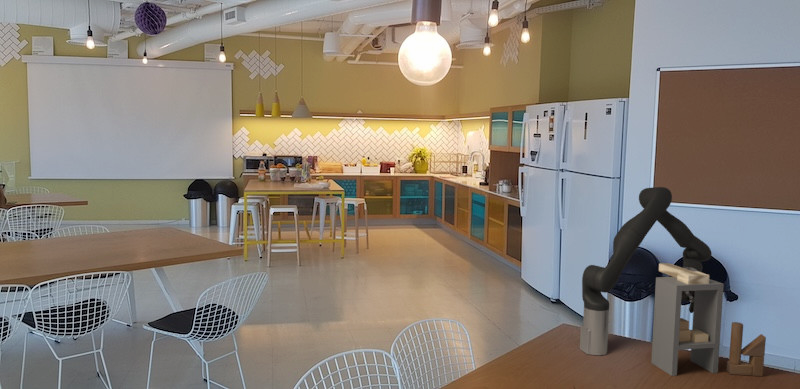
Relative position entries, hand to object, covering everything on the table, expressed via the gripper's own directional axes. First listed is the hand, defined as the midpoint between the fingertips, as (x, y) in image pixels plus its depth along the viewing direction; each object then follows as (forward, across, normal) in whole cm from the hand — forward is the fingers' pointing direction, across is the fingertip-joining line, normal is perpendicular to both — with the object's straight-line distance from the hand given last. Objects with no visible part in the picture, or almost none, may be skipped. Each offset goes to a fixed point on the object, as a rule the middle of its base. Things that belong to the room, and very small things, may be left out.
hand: (678, 310), depth 227 cm
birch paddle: (0, +5, -17) cm, 18 cm away
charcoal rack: (+20, +4, +8) cm, 22 cm away
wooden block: (+14, +21, +16) cm, 29 cm away
